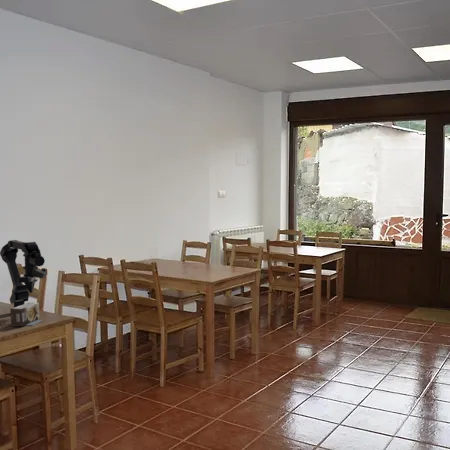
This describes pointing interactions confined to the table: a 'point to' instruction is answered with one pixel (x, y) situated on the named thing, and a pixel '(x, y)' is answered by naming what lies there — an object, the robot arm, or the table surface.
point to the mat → (33, 323)
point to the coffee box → (24, 314)
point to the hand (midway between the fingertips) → (31, 292)
